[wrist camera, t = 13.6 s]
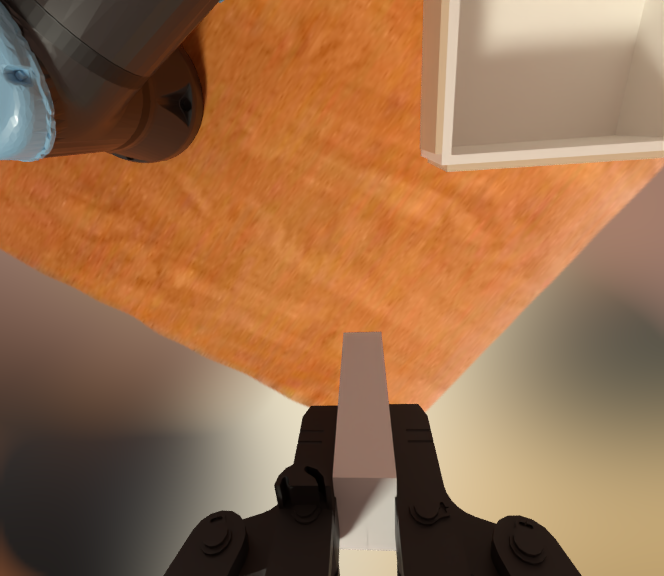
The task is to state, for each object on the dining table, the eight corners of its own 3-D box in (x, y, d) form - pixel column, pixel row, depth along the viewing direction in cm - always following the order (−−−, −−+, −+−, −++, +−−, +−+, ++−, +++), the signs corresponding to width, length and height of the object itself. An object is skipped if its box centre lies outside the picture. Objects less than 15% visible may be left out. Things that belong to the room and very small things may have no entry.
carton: (620, 147, 42) (713, 154, 31) (415, 161, 44) (434, 172, 33) (669, -64, 34) (816, -154, 23) (419, -34, 36) (445, -104, 25)
